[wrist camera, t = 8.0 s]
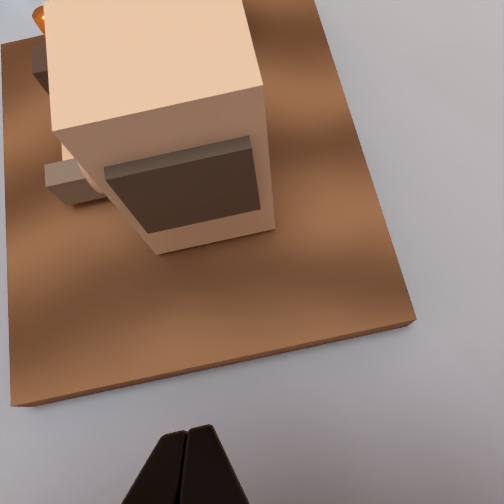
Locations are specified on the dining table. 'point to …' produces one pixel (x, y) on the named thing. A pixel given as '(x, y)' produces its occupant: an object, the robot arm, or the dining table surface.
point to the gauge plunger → (160, 116)
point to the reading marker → (40, 53)
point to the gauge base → (203, 256)
